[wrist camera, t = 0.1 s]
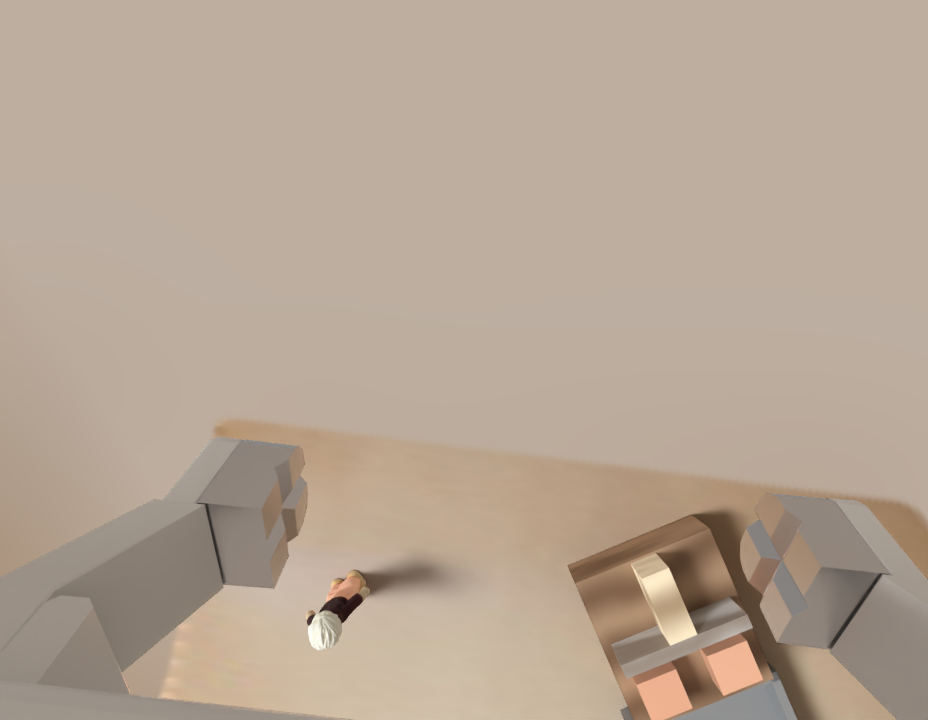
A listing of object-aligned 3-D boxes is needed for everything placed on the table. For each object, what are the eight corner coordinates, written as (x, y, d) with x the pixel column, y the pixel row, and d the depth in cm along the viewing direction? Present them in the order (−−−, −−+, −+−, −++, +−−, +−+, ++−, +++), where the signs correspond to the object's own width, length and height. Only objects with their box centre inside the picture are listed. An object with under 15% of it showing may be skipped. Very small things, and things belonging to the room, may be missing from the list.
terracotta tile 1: (751, 665, 58) (763, 679, 56) (712, 681, 59) (723, 695, 56) (735, 628, 58) (746, 640, 56) (697, 643, 59) (706, 656, 56)
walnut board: (750, 652, 63) (773, 678, 58) (626, 703, 64) (639, 732, 59) (691, 514, 63) (709, 528, 58) (567, 565, 64) (575, 583, 59)
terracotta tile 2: (683, 693, 59) (692, 708, 56) (645, 708, 59) (653, 724, 56) (667, 655, 59) (676, 669, 56) (629, 671, 59) (636, 685, 56)
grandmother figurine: (336, 614, 65) (301, 678, 52) (317, 589, 65) (278, 647, 52) (386, 578, 64) (364, 633, 52) (367, 552, 64) (340, 601, 52)
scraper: (734, 608, 58) (753, 627, 54) (616, 657, 59) (626, 679, 55) (702, 533, 58) (718, 547, 54) (584, 582, 59) (592, 599, 55)
